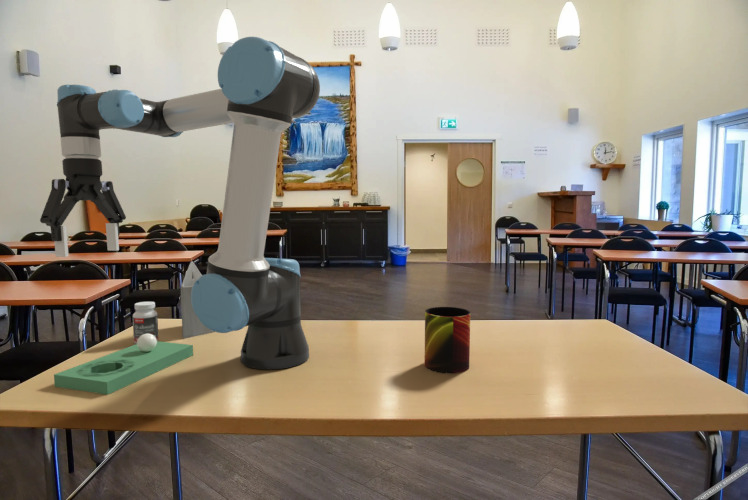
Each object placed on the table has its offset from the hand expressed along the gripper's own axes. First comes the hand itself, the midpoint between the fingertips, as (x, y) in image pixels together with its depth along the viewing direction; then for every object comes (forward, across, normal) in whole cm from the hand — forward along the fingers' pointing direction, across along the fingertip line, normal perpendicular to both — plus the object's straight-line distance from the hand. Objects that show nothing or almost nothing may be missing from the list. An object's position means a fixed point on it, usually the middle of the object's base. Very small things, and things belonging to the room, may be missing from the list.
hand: (89, 253), depth 109 cm
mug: (+26, -18, +78) cm, 84 cm away
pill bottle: (+24, -12, +3) cm, 27 cm away
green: (+24, +5, +14) cm, 29 cm away
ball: (+20, 0, +15) cm, 25 cm away
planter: (+24, -26, +11) cm, 37 cm away
